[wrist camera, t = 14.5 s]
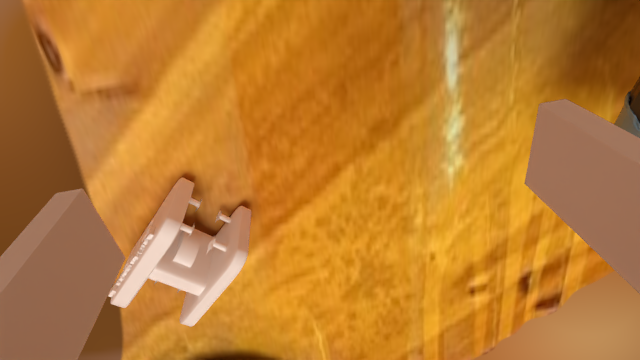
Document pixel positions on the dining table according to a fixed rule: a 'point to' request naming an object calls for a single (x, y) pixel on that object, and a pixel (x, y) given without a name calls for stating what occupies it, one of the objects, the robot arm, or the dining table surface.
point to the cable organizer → (185, 255)
